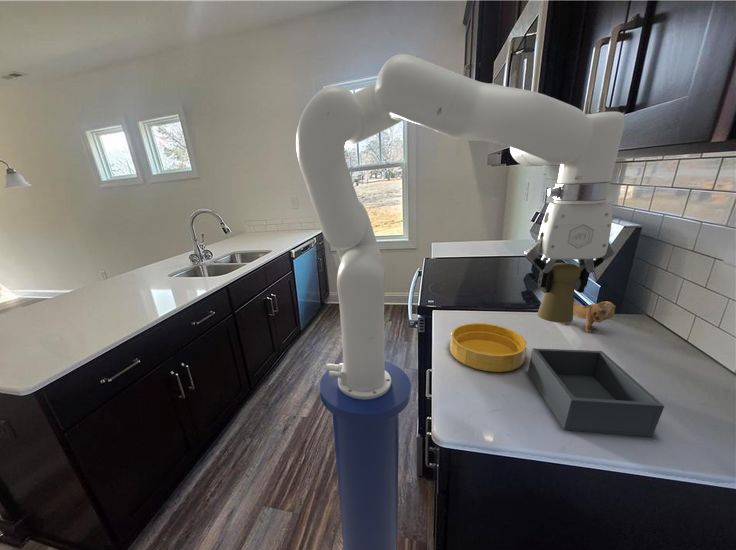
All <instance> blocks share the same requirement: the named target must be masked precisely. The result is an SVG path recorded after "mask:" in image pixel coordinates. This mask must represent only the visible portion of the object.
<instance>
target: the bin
mask: <svg viewBox="0 0 736 550" xmlns="http://www.w3.org/2000/svg"><path fill="white" fill-rule="evenodd" d="M529 359H530V360H529V364H528V369H527V374H528V376H529V378H530V379H531V381H532V382H533V384H534V385H535V387H536V388H537V390H538V392H539V394H540V395H541V396H542V398H543V400H544V402H545V403H546V404H547V406H548V407H549V409H550V410H551V412H552V413H553V415H554V416H555V418H556V420H557V422H558V423H559V424H560V425H561V427H562V429H563V430H564V431H573V432H586V433H587V432H588V433H599V434H611V435H623V436H634V437H635V436H637V437H648V438H649V437H650V438H653V436H654V434H655V431H656V429H657V426H658V424H659V421H660V418H661V416H662V413H663V411H664V409H665V405H664V404H663V403H662V402H661V401H659V400H658V399H657V398H656V397H655V396H654V395H653V394H652V393H650V392H649V391H648V390H647V389H646V388H644V387H643V385H641V384H640V383H639V382H638V381H637V380H636V379H634V378H633V377H632V375H630V374H629V373H627V371H625V370H624V368H622V367H621V366H620V365H619V364H617V363H616V361H614V360H613V359H612V358H611V357H610V356H608V355H607V353H605V352H603V351H602V350H588V349H587V350H585V349H561V348H560V349H559V348H557V349H556V348H535V347H533V348H532V349H531V355H530V358H529Z"/></svg>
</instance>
